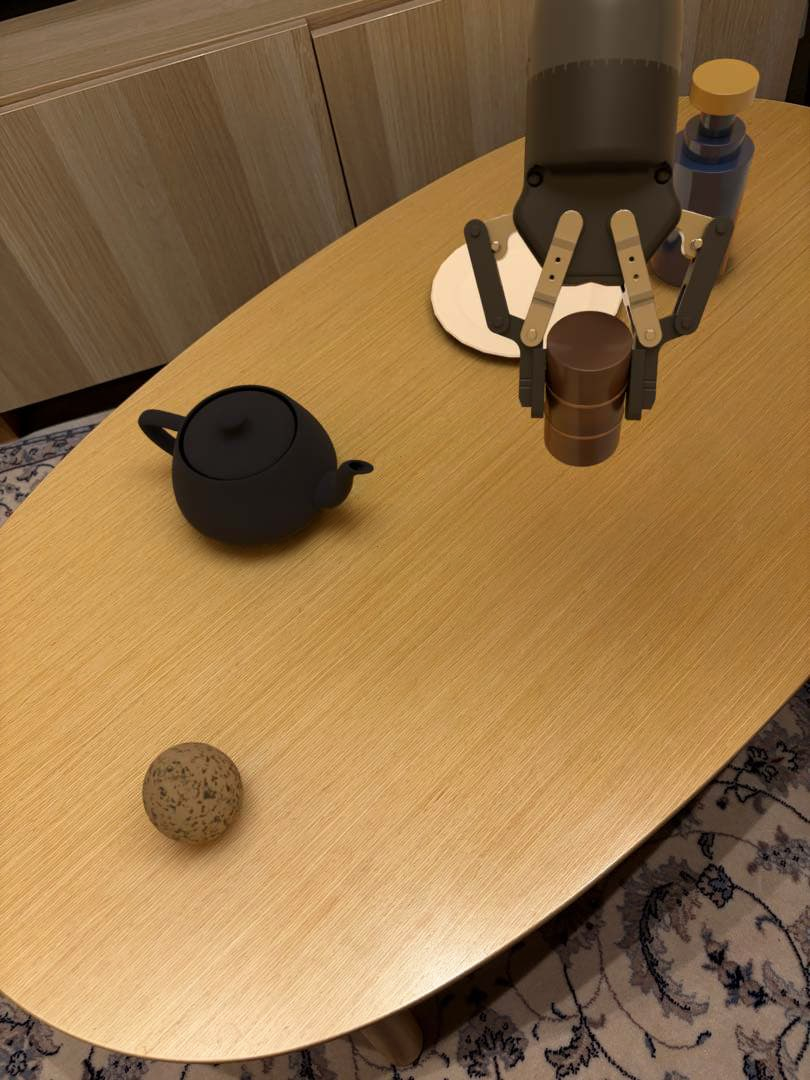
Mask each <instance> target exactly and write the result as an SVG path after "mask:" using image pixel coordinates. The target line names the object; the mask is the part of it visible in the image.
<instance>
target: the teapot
mask: <svg viewBox="0 0 810 1080" xmlns="http://www.w3.org/2000/svg"><path fill="white" fill-rule="evenodd" d="M137 424H138V427H139V429H140V430H141V432H142V433H143V434H144V435H145V436H146V437H147V438H148V439H149V440H150V441H151V442H152V443H153V444H154V445H156V446H157V447H159V448H160V449H161V450H162V451H164V452H165V453H167V454H168V455H170V456H171V457H172V461H171V484H172V490H173V495H174V498H175V502H176V504H177V506H178V508H179V510H180V512H181V514H182V516H183V517H184V518H185V520H186V521H187V522H188V524H189V525H190V526H191V527H192V528H193V529H195V530H196V532H199V533H200V534H201V535H203V536H204V537H206V538H208V539H210V540H212V541H214V542H217V543H220V544H223V545H227V546H233V547H240V548H241V547H242V548H253V547H263V546H267V545H271V544H272V545H273V544H276V543H279V542H281V541H283V540H286V539H288V538H290V537H292V536H294V535H295V534H297V533H299V532H301V531H302V530H304V529H305V528H306V527H307V526H309V525H310V524H311V523H312V522H313V521H314V520H315V519H316V518H317V517H319V515H320V514H321V512H322V511H325V510H326V511H327V510H332V509H335V508H337V507H339V506H341V505H342V504H343V503H344V502H345V501H346V500H347V499H348V496H349V495H350V493H351V490H352V489H353V485H354V477H356V476H359V475H368V474H371V473H373V471H375V467H374V465H373V464H371V463H370V462H368V461H366V460H362V459H348V460H345V461H343V462H342V463H341V464H340V465H339V466H338V457H337V453H336V448H335V446H334V444H333V441H332V439H331V437H330V435H329V434H328V432H327V430H326V429H325V427H324V426H323V424H321V422H320V421H319V420H318V419H317V418H316V417H315V416H314V415H313V414H312V413H311V412H310V411H309V410H308V409H307V408H305V407H304V405H301V404H300V403H299V402H298V401H297V400H295V399H293V398H292V397H291V396H289V395H288V394H286V393H284V392H283V391H281V390H279V389H277V388H274V387H270V386H267V385H261V384H240V385H233V386H230V387H226V388H223V389H220V390H218V391H215V392H214V393H212V394H210V395H208V396H207V397H204V398H203V399H202V400H201V401H199V402H198V403H197V404H196V405H194V407H192V408H191V409H190V411H189V412H188V413H187V414H186V415H182V414H178V413H174V412H170V411H167V410H162V409H157V408H156V409H155V408H149V409H146V410H144V411H142V412H141V413H140V414H139V416H138V418H137ZM167 430H169V431H173V432H177V433H176V435H175V437H174V436H173V435H172V434H171V433H169V432H168V431H167Z"/></svg>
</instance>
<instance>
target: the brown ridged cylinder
mask: <svg viewBox="0 0 810 1080" xmlns="http://www.w3.org/2000/svg"><path fill="white" fill-rule="evenodd" d="M632 349H633V334H632V331H631V329H630V327H629V326H628V325H627V324H626V323H625V322H624V321H623V320H622V319H620V318H619V317H617V316H616V315H615V316H613V315H611V314H608V313H604V312H599V311H580V312H576V313H572V314H569V315H567V316H565V317H563V318H561V319H560V320H558V321H557V322H556V323H555V324H554V325H553V326H552V328H551V329H550V331H549V333H548V335H547V342H546V371H545V396H544V421H543V424H544V425H543V441H544V445H545V448H546V451H548V453H549V454H550V455H551V456H552V457H553V458H554V459H555V460H557V461H558V462H560V463H561V464H564V465H567V466H570V467H576V468H589V467H593V466H598V465H600V464H602V463H604V462H605V461H607V460H608V459H610V458H611V457H612V456H614V454H615V452H616V451H617V449H618V447H619V444H620V439H621V430H622V423H623V418H624V416H625V400H626V388H627V385H628V374H629V367H630V360H631V353H632Z"/></svg>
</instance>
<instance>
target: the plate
mask: <svg viewBox="0 0 810 1080" xmlns="http://www.w3.org/2000/svg"><path fill="white" fill-rule="evenodd" d="M497 265H498V269H499V274H500V278H501V282H502V286H503V290H504V294H505V298H506V302H507V306H508V310H509V314H511V315H514V316H516V317H519V318H521V319H524V320H525V319H526V316H527V313H528V310H529V307H530V304H531V301H532V298H533V295H534V292H535V289H536V286H537V283H538V280H539V277H540V274H541V271H542V268H541V267H540V265H539V264H538V262H537V261H536V259H535V258H534V256H533V255H532V253H531V252H530V250H529V249H528V247H527V246H526V244H525V243H524V241H523V240H522V238H521V237H520V235H519V234H518V232H516V233H514V234H513V235H512V236H511V237H510V238H509V241H508V253H507V255H506V257H505V258H504V259H502V260H500V261H497ZM430 300H431V304H432V309H433V313H434V316H435V318H436V319H437V320H438V323H440V325H441V327H442V328H443V330H444V331H445V332H446V333H448V334H449V335H450V336H451V337H453V338H454V339H455V340H456V341H458V342H459V343H460V344H462V345H464V346H467V348H468V347H469V348H470V349H473V350H475V351H478V352H480V353H482V354H486V355H490V356H495V357H500V358H505V359H520V349H519V347H518V345H517V344H516V343H515V342H514V341H513V340H511V339H508V338H506V337H503V336H500V335H498V334H495V333H493V332H491V331H490V330H489V329H488V327H487V323H486V319H485V315H484V311H483V307H482V303H481V299H480V295H479V292H478V288H477V284H476V280H475V276H474V272H473V268H472V264H471V260H470V256H469V252H468V248H467V244H466V243H463V245H461V246H460V247H458V248H456V249H455V250H454V251H453V252H452V253H451V254H450V255H449V256H448V257H447V258H446V259H445V260H444V261H443V262H442V263H441V264H440V266H439V268H438V270H437V272H436V274H435V276H434V278H433V280H432V286H431V292H430ZM622 301H623V298H622V295H621V291H620V287H619V286H603V285H599V284H596V283H587V284H583V285H580V286H571V287H561V290H560V293H559V296H558V299H557V301H556V304H555V307H554V310H553V312H552V315H551V318H550V321H549V324H548V326H547V329H546V332H545V335H544V339H543V349H546V342H547V335H548V333H549V331H550V329H551V328H552V326H553V325H554V324H555V323H556V322H557V321H558V320H560V319H561V318H563V317H565V316H567V315H569V314H572V313H576V312H580V311H599V312H604V313H608V314H611V315H613V316H615V317H616V316H617V314H618V311H619V309H620V306H621V303H622Z"/></svg>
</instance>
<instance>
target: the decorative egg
mask: <svg viewBox="0 0 810 1080" xmlns="http://www.w3.org/2000/svg"><path fill="white" fill-rule="evenodd" d="M142 781H143V782H142V789H141V796H142V804H143V808H144V812H145V813H146V815H147V817H148V819H149V821H150V822H151V824H152V825H153V826H154V828H155V829H156V830H157V831H158V832H159V833H161V834H162V835H163V836H165V837H167V838H168V839H169V840H170V839H171V840H173V841H174V842H177V843H181V844H189V845H191V844H193V845H194V844H195V845H197V844H203V843H207V842H209V841H212V840H215V839H217V838H218V837H219V836H221V835H222V834H224V833H225V832H226V831H228V830H229V828H230V827H231V826H232V825H233V824H234V822H235V821H236V819H237V817H238V816H239V813H240V811H241V809H242V804H243V801H244V785H243V784H244V783H243V778H242V776H241V773H240V771H239V769H238V767H237V765H236V763H234V761H233V760H232V759H231V758H230V756H229V755H228V754H226V752H224V751H222V750H221V749H220V748H218V747H215V746H213V745H211V744H208V743H206V742H205V743H204V742H197V741H195V742H194V741H190V742H189V741H188V742H183V743H179V744H174V745H172V746H170V747H168V748H166V749H164V750H163V751H162V752H161V753H160V754H158V755H157V756H156V757H155V758H154V760H152V761H151V763H150V765H149V767H148V768H147V770H146V772H145V774H144V778H143V780H142Z"/></svg>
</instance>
